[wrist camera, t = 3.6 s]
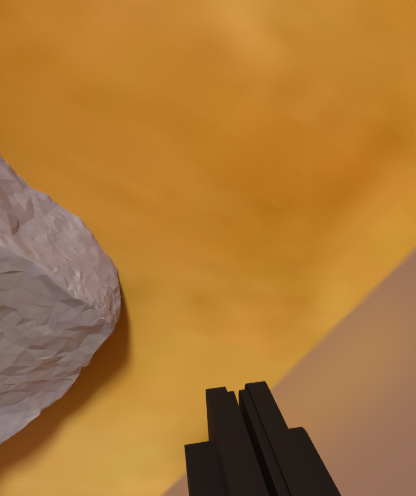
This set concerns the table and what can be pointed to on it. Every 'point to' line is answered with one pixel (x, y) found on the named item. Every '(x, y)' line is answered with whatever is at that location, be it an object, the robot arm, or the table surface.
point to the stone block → (47, 300)
